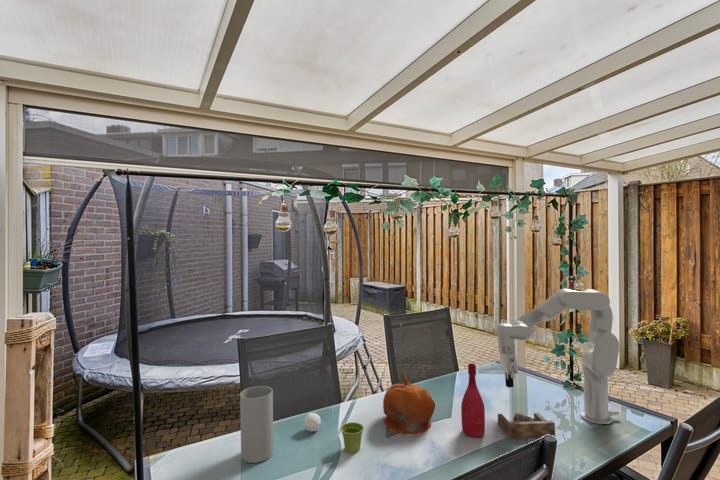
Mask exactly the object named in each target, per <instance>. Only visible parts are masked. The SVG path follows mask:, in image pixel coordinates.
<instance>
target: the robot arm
mask: <svg viewBox="0 0 720 480" xmlns="http://www.w3.org/2000/svg"><path fill="white" fill-rule="evenodd" d="M610 304H611V300H610V297H609V296H608V295H607V294H606V293H604V292H603V291H599V290H597V289H593V288H587V289H584V291H582V290H580V291H579V290H573V289H570V288H560V289H558V290H557V291H556V292H555V293H554V294H552V295H550V297H548V298H547V299H545V301H543V302H542V303H541V304H539V305H538V306H536V307H534V308H532V309H530V310H528V311H527V312H525V313H524V314H522V315H521V316H520V317H519V318H517V319H516V320H515V321H514V322H513V323H512V324H511V323H508V322H507V323H506V322H503V323H502V322H501V323H498V324H497V326H496V329H497V330H496V331H497V343H498V353H499V362H500V364H499V366H500V369H501V370H502V371H503V372H504V379H505V387H507V388H514V385H515V384H514V378H515V377H516V375H519V369H518V368H519V367H518V364H517V363H518V362H517V356H516V344H515V340H518V341H528V340H529V339H531V338H532V336H533V335H532V334H533V332H532V328H534V327H535V326H537V325H538V324H541V323H544V322H549V321H552V320H554V319H556V318H557V317H558V316H559V315H561V314H562V313H563V312H564V311H566V310H567V309H569V310H577V311H590V324H589V329H588V332H587V333H588V334H587V341H588V343H589V344H590V345H591V346H592V347H593V348H591V349H587V350H585V351H584V352H583V353H582V355H581V366H582V374H583V376H582V377H583V402H584V404H583V406H584V410H582V411H580V416H581V418H582V419H583V420H585V421H587V422H590V423H592V424H593V423H594V424H597V425H602V424H607V425H610V423H611V424H613V423H614V418H613V416H619V415H620V412H619V410H613V409H612V408H609V388H608V387H609V384H608V383H609V381H608V378H610V377H612V376H613V375H614V373H615V372H616V369H617V365H618V359H619V353H620V341H619V339H618V338H617V336H616V335H615V334H614V333H612V329H613V319H614V318H613V317H614V316H613V315H614V314H613V311H612V307H611V305H610Z"/></svg>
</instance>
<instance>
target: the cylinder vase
mask: <svg viewBox="0 0 720 480" xmlns="http://www.w3.org/2000/svg"><path fill="white" fill-rule="evenodd" d="M239 398H240V401H239V402H240V404H239V406H240V408H239V409H240V411H239V413H240V459H242V461H243V462H245V463H247V462H248V463H249V464H259V463H262V462H264V461H267V460H269V458H271V457H272V456H273V454H274V450H275V449H274V391H273V388H272V387H270V386H266V385H256V386H251V387H248V388H245V389H243V390H242V391H241V392H240V393H239Z"/></svg>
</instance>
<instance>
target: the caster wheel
mask: <svg viewBox="0 0 720 480" xmlns="http://www.w3.org/2000/svg"><path fill="white" fill-rule="evenodd" d="M527 421H537V420H535V419H534V417H533V418H532V417H530V416H527V415H525V414H524V413H523V412H521V411H518V412H515V413H514V416H513V418H512V422H527Z"/></svg>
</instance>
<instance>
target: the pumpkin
mask: <svg viewBox="0 0 720 480" xmlns="http://www.w3.org/2000/svg"><path fill="white" fill-rule="evenodd" d="M402 378H403V381H404V382H401V383H396V382H395V383H394V384H391V385H390V386H389V388H388V389H387V390H386V392H385V393H384V396H383V401H382V402H383V403H382V405H383V407H382V408H383V414H384V415H385V418H384V420H383V421H384V422H383V423H385V424H384V426H385V428H387V429H388V430H389V429H390V430H389V431H391V430H392V431H391V432H393V431H394V432H393V433H396V432H397V433H396V434H399V433H402V434H401V435H405V434H414V435H419V434H418V433H420V434H423V433H425V431H426V432H427V431H429V430H430V429H431V427H432V422H431V421H432V420H431V419H432V416H433V415H434V412H435V408H436V403H435V400H434V399H433V398H432V396H431V393H430V391H429V390H428V389H426V388H422V387H421V386H419V385H417V384H412V383H411V380H410V378H409V376H408V375H407V373H406V371H402ZM428 429H429V430H428ZM422 432H423V433H422Z"/></svg>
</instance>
